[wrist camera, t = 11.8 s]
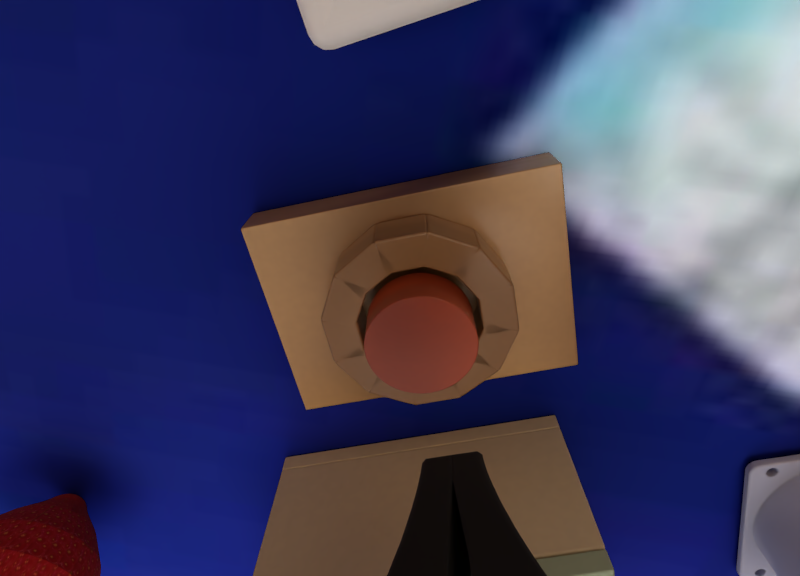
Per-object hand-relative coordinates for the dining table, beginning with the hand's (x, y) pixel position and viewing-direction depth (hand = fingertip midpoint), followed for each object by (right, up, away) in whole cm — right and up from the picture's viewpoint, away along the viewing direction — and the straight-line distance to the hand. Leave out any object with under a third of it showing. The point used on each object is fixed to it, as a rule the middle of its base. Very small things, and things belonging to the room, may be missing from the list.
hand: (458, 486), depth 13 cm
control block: (-1, +5, +8) cm, 10 cm away
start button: (-1, +4, +6) cm, 7 cm away
